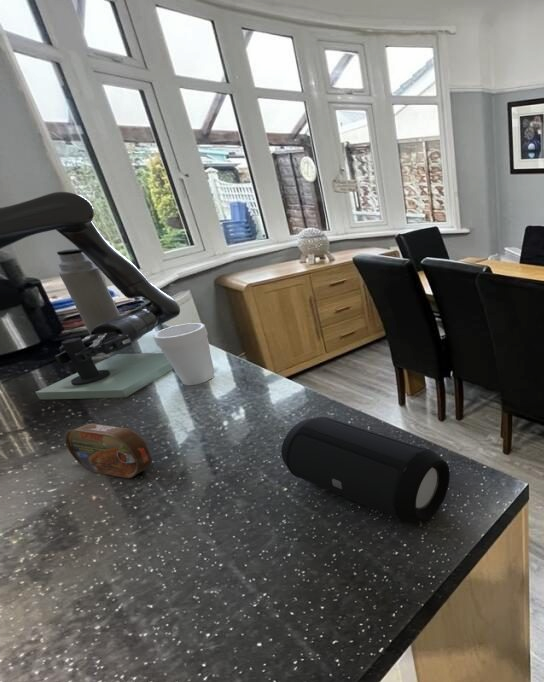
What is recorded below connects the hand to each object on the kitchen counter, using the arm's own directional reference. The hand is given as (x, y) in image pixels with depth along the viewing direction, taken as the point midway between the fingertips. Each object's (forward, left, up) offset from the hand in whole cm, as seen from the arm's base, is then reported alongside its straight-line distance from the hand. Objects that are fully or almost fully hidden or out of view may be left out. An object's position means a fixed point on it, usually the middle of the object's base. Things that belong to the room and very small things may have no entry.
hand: (68, 359), depth 89 cm
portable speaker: (+78, -33, -9) cm, 86 cm away
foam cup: (+23, +5, -9) cm, 25 cm away
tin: (+33, -27, -9) cm, 44 cm away
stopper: (-1, +3, -9) cm, 9 cm away
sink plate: (+2, +7, -9) cm, 11 cm away
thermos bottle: (-23, +31, -9) cm, 39 cm away
